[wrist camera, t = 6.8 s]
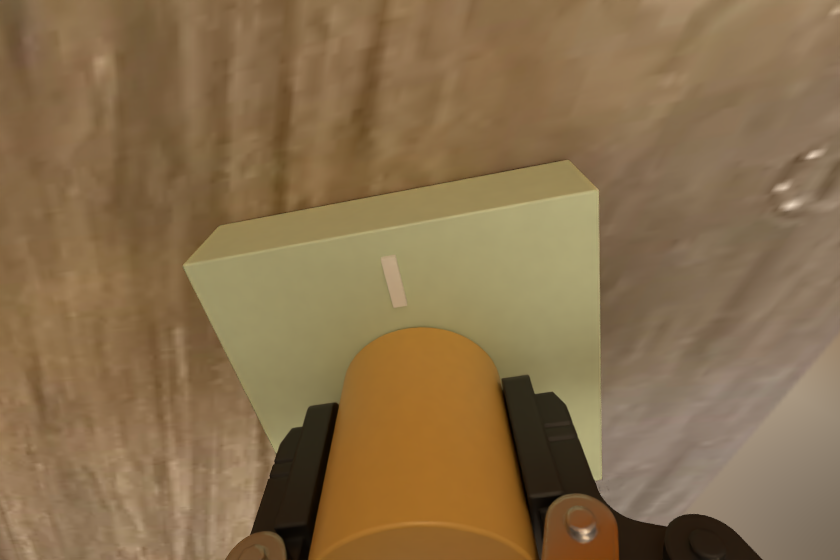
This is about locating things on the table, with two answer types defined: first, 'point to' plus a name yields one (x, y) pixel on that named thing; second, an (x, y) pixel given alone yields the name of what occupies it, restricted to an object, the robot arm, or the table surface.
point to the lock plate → (414, 289)
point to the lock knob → (422, 457)
